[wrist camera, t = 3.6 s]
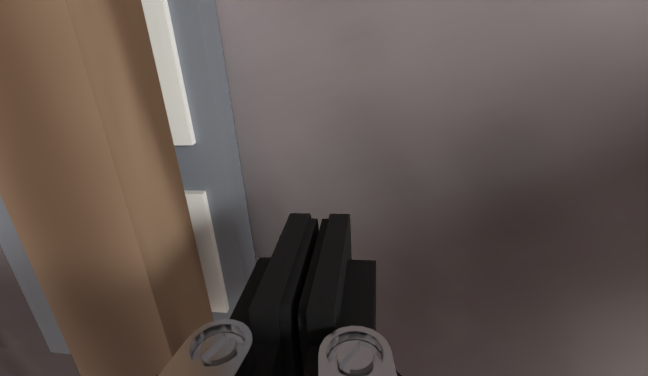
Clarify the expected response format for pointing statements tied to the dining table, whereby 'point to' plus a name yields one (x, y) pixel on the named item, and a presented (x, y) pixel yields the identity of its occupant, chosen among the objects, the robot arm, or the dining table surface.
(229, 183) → the label board
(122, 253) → the swing bar
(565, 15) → the dining table surface
